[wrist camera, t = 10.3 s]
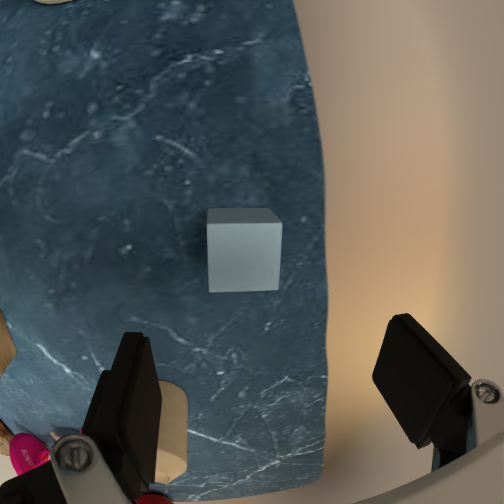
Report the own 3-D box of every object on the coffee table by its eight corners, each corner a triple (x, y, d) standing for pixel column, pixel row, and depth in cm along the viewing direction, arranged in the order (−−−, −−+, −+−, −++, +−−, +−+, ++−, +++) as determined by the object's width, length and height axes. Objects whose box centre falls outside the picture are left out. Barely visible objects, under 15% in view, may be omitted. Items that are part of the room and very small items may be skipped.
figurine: (-3, 445, 20) (63, 423, 23) (30, 424, 30) (94, 398, 32) (39, 503, 20) (113, 490, 22) (64, 474, 29) (132, 455, 32)
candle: (167, 372, 26) (158, 458, 17) (198, 404, 28) (200, 484, 19) (125, 388, 26) (108, 467, 17) (157, 417, 28) (151, 492, 19)
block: (268, 207, 22) (282, 222, 18) (266, 264, 24) (278, 290, 19) (207, 208, 21) (206, 223, 17) (208, 265, 23) (208, 292, 19)
